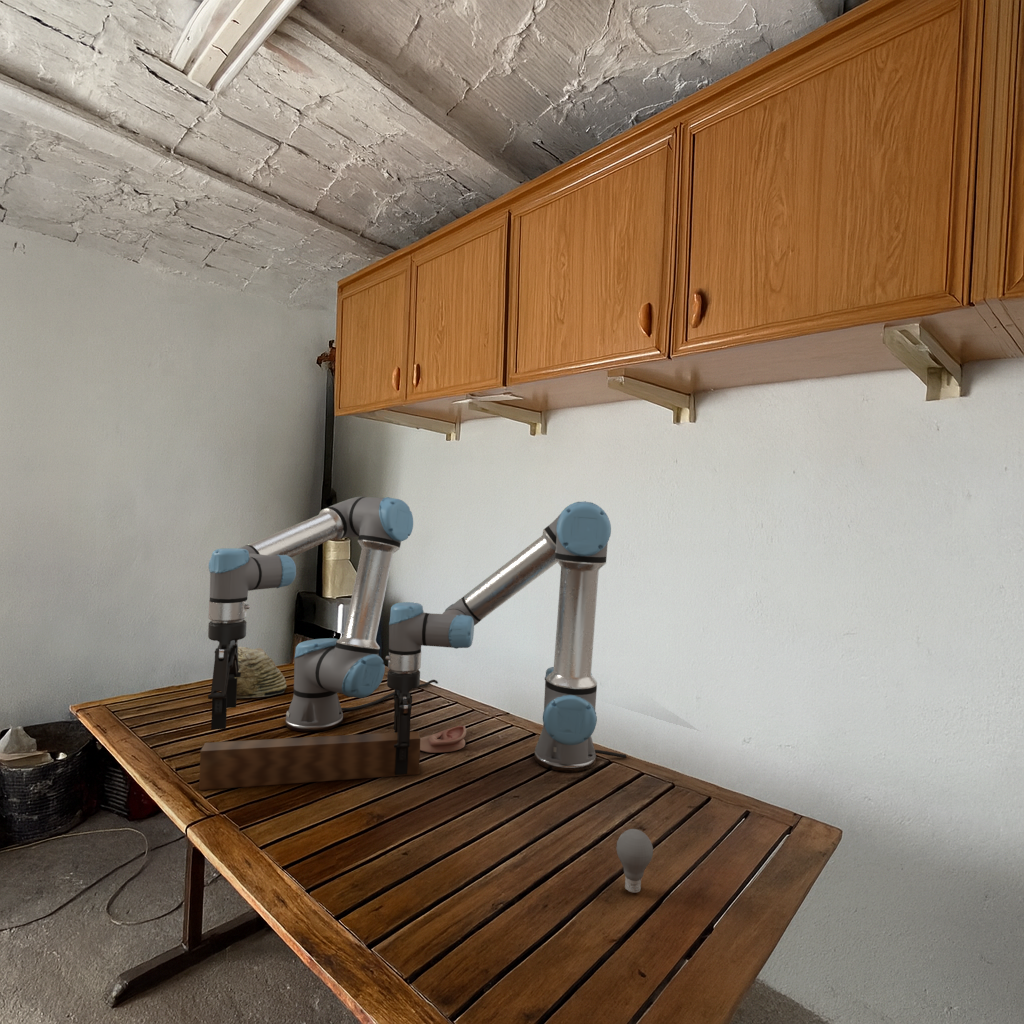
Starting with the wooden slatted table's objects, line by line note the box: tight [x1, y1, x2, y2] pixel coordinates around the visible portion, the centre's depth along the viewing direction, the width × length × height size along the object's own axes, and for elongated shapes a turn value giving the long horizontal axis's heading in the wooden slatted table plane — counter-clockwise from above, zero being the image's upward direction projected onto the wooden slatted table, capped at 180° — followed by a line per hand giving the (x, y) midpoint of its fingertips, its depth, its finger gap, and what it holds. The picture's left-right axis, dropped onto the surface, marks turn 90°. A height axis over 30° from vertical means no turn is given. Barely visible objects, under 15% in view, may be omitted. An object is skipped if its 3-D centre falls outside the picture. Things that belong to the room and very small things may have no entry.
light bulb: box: [615, 828, 654, 894], centre depth 106 cm, size 6×6×10 cm
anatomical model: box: [420, 725, 467, 754], centre depth 164 cm, size 13×4×12 cm
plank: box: [198, 730, 421, 791], centre depth 143 cm, size 47×5×8 cm, turn 105°
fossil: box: [235, 646, 288, 699], centre depth 198 cm, size 9×18×15 cm, turn 132°
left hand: (224, 717), depth 137 cm, fingers open, 13 cm apart
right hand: (399, 768), depth 148 cm, fingers closed on plank, 5 cm apart
